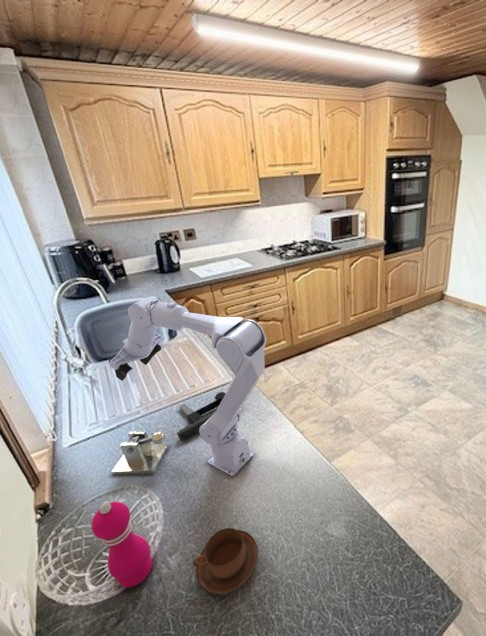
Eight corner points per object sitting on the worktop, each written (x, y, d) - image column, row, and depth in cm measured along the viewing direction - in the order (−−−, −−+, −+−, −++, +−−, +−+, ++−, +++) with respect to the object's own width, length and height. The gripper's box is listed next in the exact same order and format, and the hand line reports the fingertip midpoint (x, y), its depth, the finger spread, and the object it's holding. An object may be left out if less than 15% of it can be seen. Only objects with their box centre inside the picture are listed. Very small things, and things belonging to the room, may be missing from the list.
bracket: (168, 447, 100) (161, 425, 96) (153, 473, 92) (145, 450, 88) (130, 448, 100) (121, 426, 96) (112, 474, 92) (102, 451, 88)
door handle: (160, 413, 109) (181, 436, 98) (218, 384, 122) (242, 402, 111) (163, 421, 111) (184, 445, 100) (219, 392, 123) (244, 411, 112)
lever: (169, 435, 94) (163, 427, 92) (163, 445, 91) (157, 436, 90) (136, 443, 95) (130, 435, 94) (130, 453, 92) (124, 444, 91)
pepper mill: (145, 544, 75) (116, 480, 66) (161, 567, 71) (133, 501, 62) (109, 573, 70) (73, 508, 61) (125, 599, 66) (88, 533, 57)
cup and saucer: (210, 614, 63) (203, 596, 60) (190, 559, 72) (183, 540, 69) (269, 570, 69) (265, 552, 66) (244, 524, 78) (240, 506, 75)
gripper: (151, 315, 92) (142, 347, 100) (102, 341, 80) (96, 376, 88) (172, 330, 92) (161, 362, 99) (126, 359, 80) (117, 392, 87)
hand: (132, 369), depth 93 cm, fingers open, 7 cm apart
